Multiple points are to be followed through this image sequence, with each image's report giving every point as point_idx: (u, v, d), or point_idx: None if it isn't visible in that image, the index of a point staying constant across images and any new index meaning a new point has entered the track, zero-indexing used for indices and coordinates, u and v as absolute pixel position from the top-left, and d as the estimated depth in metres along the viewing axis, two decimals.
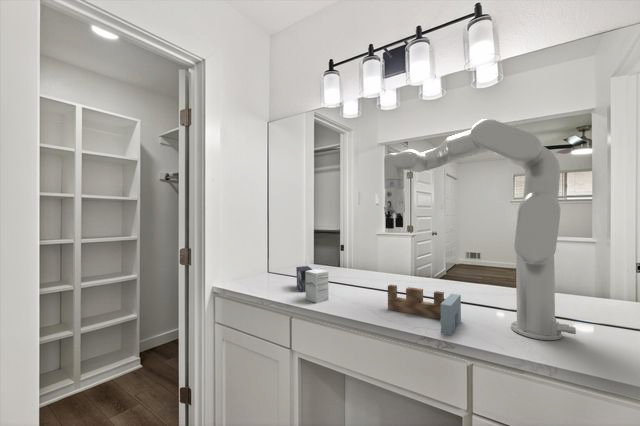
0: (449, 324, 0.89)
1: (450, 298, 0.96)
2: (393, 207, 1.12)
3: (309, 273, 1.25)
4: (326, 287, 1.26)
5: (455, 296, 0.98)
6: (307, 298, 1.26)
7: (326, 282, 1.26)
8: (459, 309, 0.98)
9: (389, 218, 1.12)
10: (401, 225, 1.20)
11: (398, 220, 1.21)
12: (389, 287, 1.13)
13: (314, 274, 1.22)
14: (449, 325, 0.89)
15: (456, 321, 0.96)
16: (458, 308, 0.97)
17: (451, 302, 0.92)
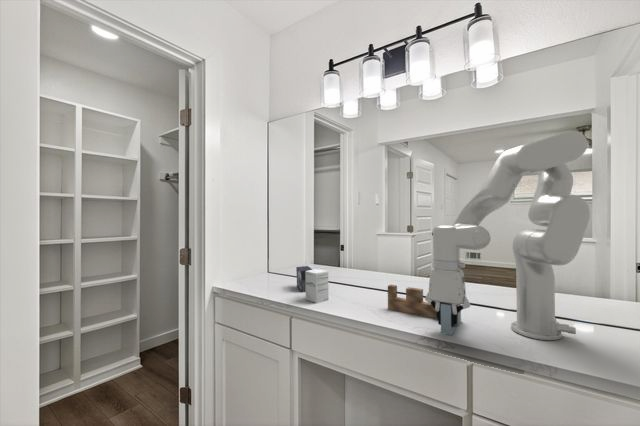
0: (449, 324, 0.89)
1: None
2: (465, 295, 0.89)
3: (309, 273, 1.25)
4: (326, 287, 1.26)
5: None
6: (307, 298, 1.26)
7: (326, 282, 1.26)
8: None
9: None
10: None
11: None
12: (389, 287, 1.13)
13: (314, 274, 1.22)
14: (449, 325, 0.89)
15: None
16: None
17: None
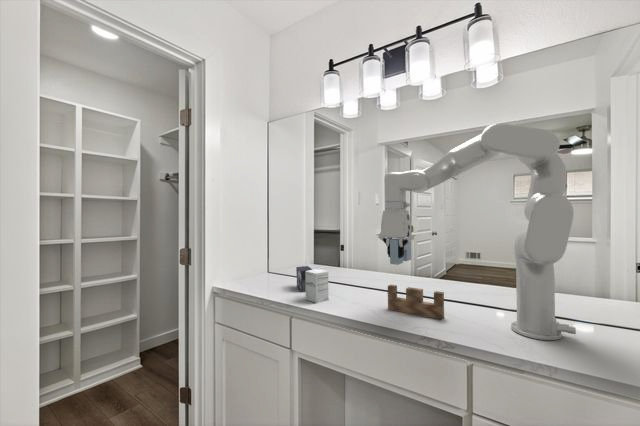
0: (396, 255, 1.05)
1: None
2: (410, 231, 1.05)
3: (309, 273, 1.25)
4: (326, 287, 1.26)
5: (406, 237, 1.14)
6: (307, 298, 1.26)
7: (326, 282, 1.26)
8: (409, 248, 1.14)
9: None
10: None
11: None
12: (389, 287, 1.13)
13: (314, 274, 1.22)
14: (396, 256, 1.05)
15: (406, 257, 1.12)
16: (408, 246, 1.13)
17: None
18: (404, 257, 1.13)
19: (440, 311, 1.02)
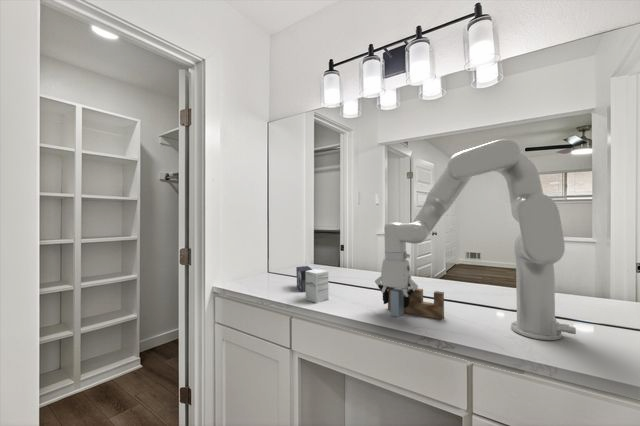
0: (397, 307, 1.05)
1: None
2: None
3: (309, 273, 1.25)
4: (326, 287, 1.26)
5: None
6: (307, 298, 1.26)
7: (326, 282, 1.26)
8: None
9: (408, 296, 1.05)
10: (388, 300, 1.10)
11: (386, 295, 1.09)
12: (389, 287, 1.13)
13: (314, 274, 1.22)
14: (397, 308, 1.05)
15: None
16: None
17: (400, 289, 1.08)
18: None
19: (440, 311, 1.02)
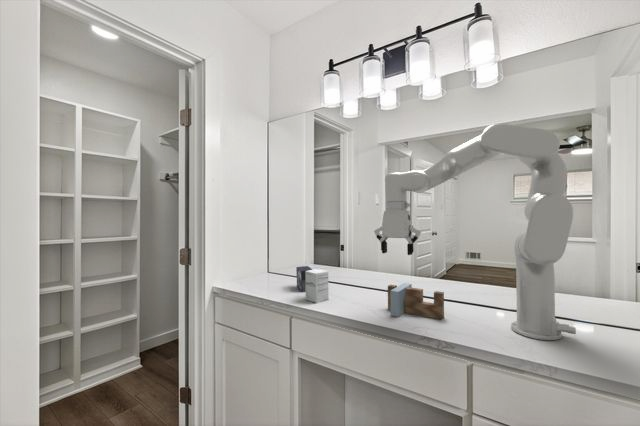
0: (397, 307, 1.05)
1: (401, 286, 1.12)
2: (411, 231, 1.06)
3: (309, 273, 1.25)
4: (326, 287, 1.26)
5: (406, 285, 1.14)
6: (307, 298, 1.26)
7: (326, 282, 1.26)
8: None
9: None
10: (386, 250, 1.11)
11: (385, 245, 1.10)
12: (389, 287, 1.13)
13: (314, 274, 1.22)
14: (397, 308, 1.05)
15: None
16: None
17: (400, 289, 1.08)
18: None
19: (440, 311, 1.02)
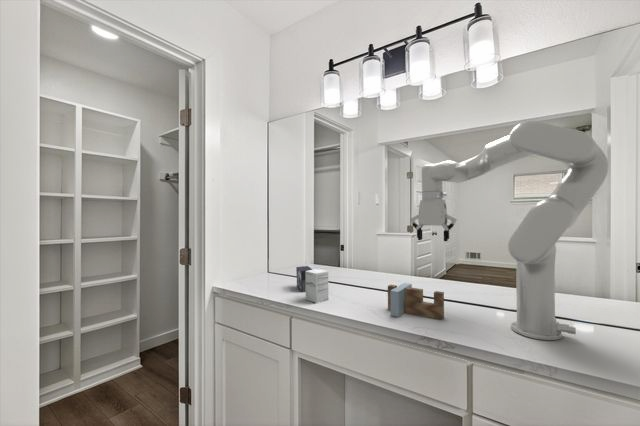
0: (397, 307, 1.05)
1: (401, 286, 1.12)
2: (447, 219, 1.13)
3: (309, 273, 1.25)
4: (326, 287, 1.26)
5: (406, 285, 1.14)
6: (307, 298, 1.26)
7: (326, 282, 1.26)
8: None
9: None
10: (421, 237, 1.18)
11: (421, 232, 1.17)
12: (389, 287, 1.13)
13: (314, 274, 1.22)
14: (397, 308, 1.05)
15: None
16: None
17: (400, 289, 1.08)
18: None
19: (440, 311, 1.02)
